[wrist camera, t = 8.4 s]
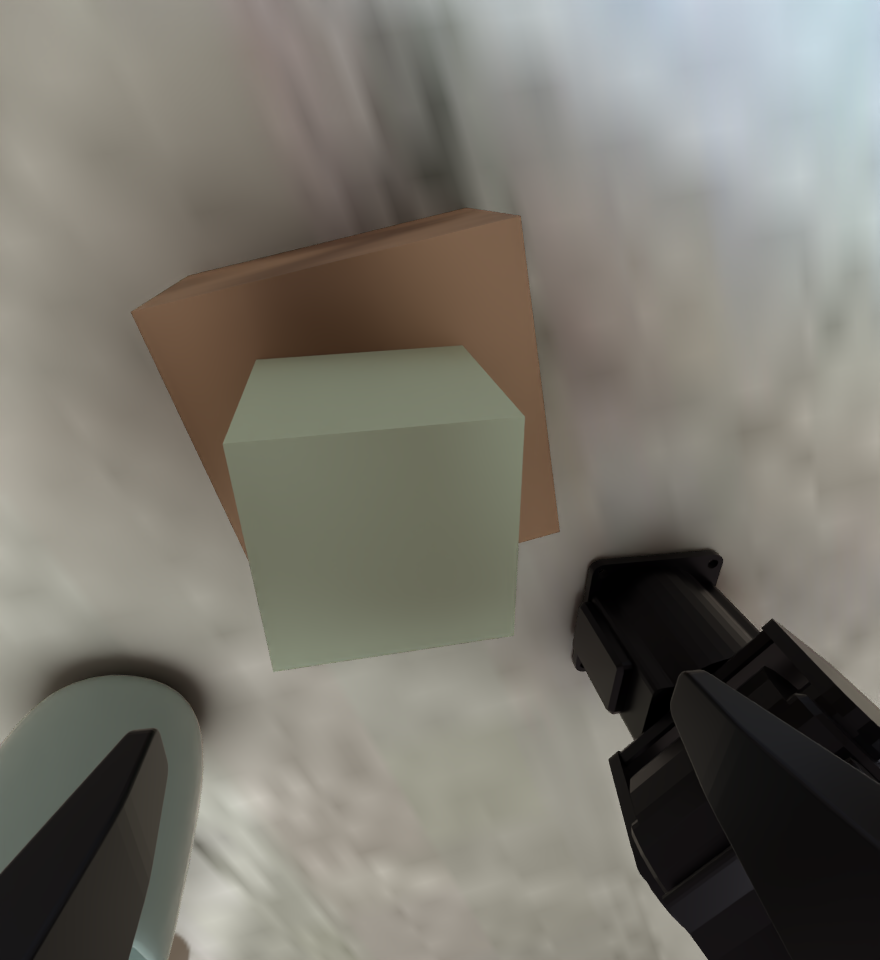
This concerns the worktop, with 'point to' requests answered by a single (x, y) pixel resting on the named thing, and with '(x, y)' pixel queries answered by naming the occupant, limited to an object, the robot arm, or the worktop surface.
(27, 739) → the cup
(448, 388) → the green cube
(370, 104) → the worktop surface
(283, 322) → the walnut block
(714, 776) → the robot arm
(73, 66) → the worktop surface
